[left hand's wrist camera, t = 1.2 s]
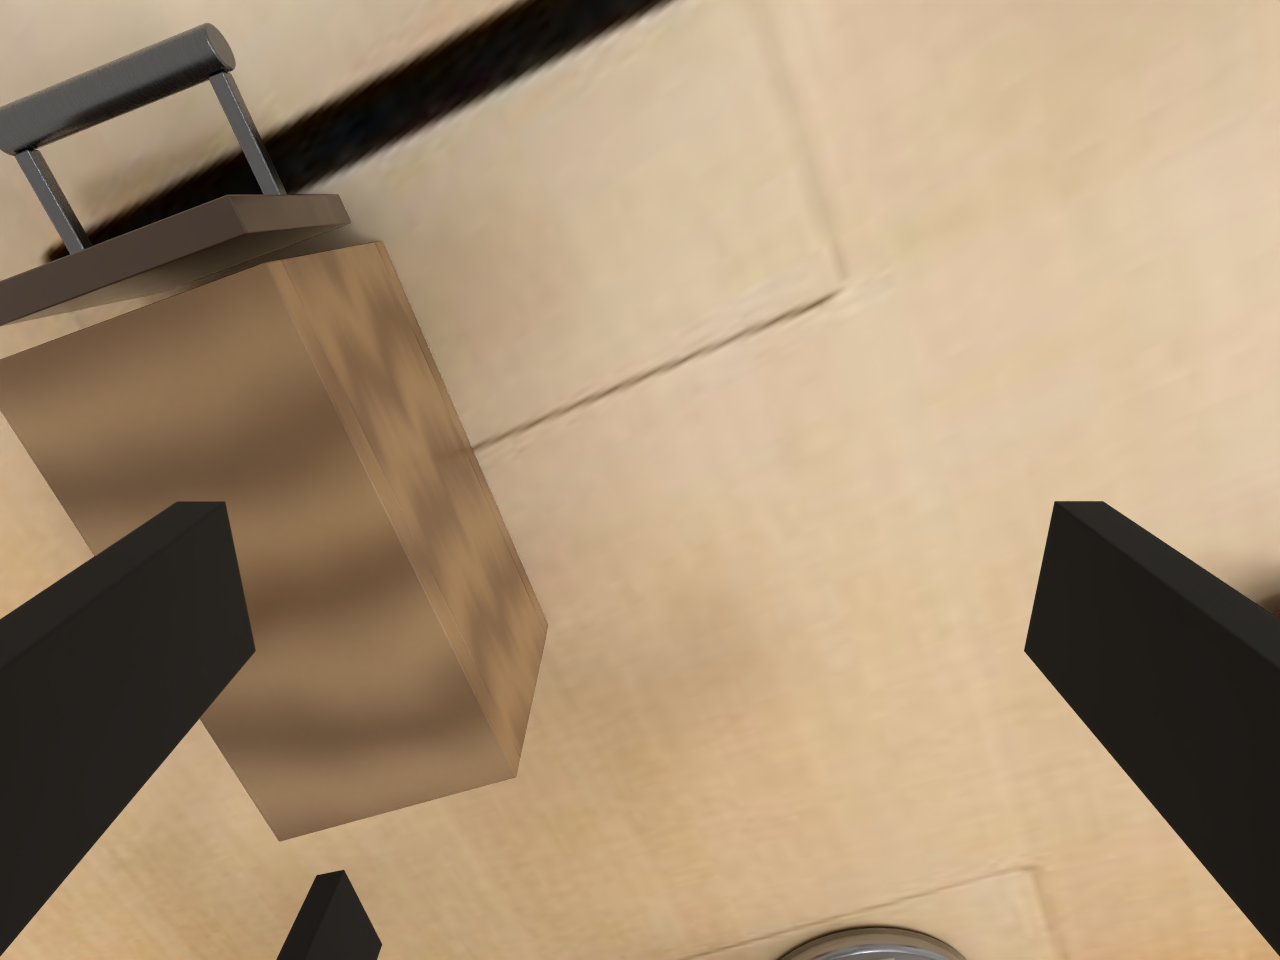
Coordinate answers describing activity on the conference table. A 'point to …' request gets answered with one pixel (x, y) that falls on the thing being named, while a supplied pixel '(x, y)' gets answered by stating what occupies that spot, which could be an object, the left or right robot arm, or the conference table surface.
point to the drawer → (169, 244)
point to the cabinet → (308, 525)
